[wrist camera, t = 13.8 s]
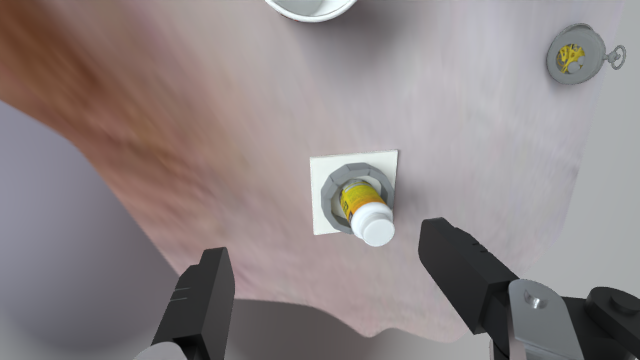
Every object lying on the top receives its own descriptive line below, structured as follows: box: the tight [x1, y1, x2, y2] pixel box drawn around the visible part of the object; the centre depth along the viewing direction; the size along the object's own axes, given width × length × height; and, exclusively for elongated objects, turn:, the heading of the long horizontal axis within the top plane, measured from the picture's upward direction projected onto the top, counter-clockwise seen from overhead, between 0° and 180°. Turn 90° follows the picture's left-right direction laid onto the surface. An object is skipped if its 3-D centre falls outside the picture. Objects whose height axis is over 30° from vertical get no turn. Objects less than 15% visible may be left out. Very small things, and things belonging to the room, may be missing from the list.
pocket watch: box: [547, 23, 626, 85], centre depth 33 cm, size 8×8×10 cm
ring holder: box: [310, 150, 398, 235], centre depth 40 cm, size 13×13×4 cm
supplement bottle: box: [339, 179, 395, 246], centre depth 36 cm, size 6×6×10 cm
